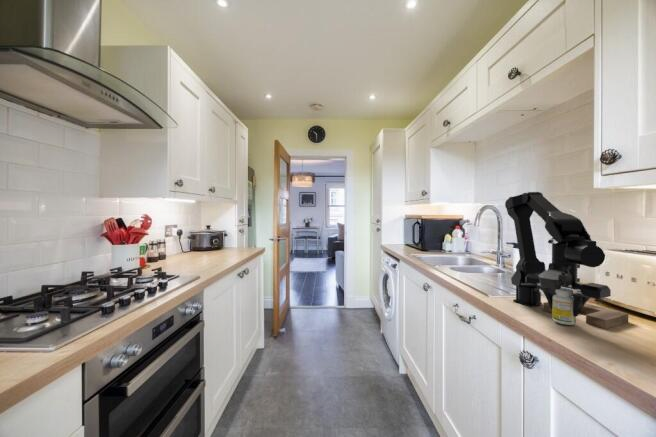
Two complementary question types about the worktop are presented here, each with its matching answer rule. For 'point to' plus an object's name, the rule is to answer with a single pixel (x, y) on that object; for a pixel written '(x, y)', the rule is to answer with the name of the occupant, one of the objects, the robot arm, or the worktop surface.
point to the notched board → (599, 316)
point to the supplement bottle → (563, 306)
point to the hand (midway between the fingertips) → (563, 313)
